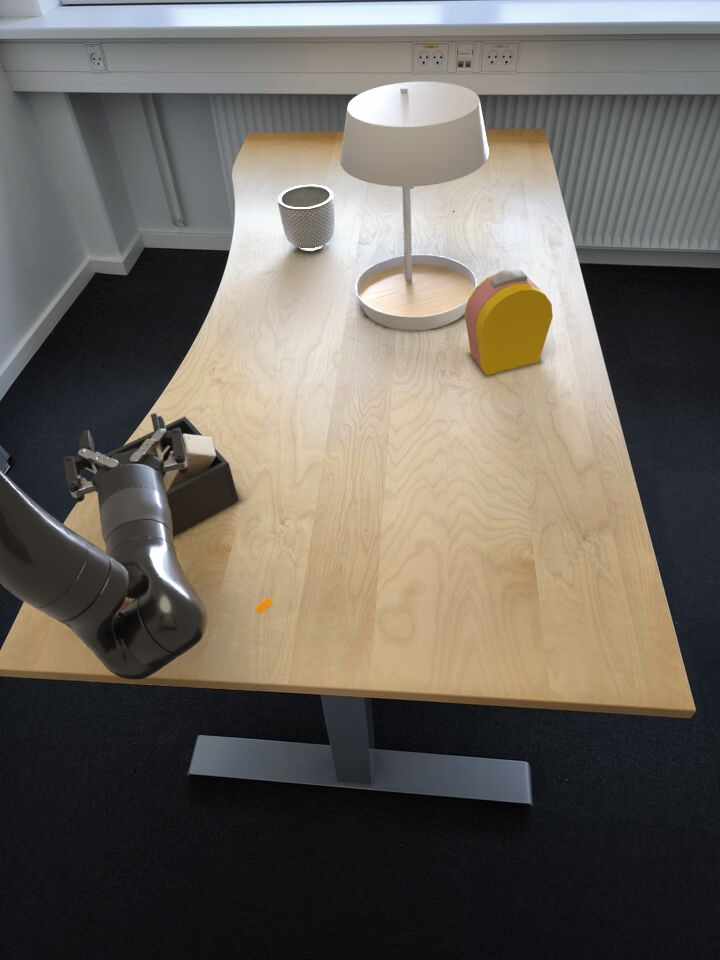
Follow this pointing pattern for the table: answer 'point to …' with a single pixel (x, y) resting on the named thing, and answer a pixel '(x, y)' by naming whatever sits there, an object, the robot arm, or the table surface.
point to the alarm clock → (507, 322)
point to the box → (193, 459)
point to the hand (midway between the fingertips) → (121, 427)
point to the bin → (194, 485)
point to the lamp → (407, 163)
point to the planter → (307, 215)
